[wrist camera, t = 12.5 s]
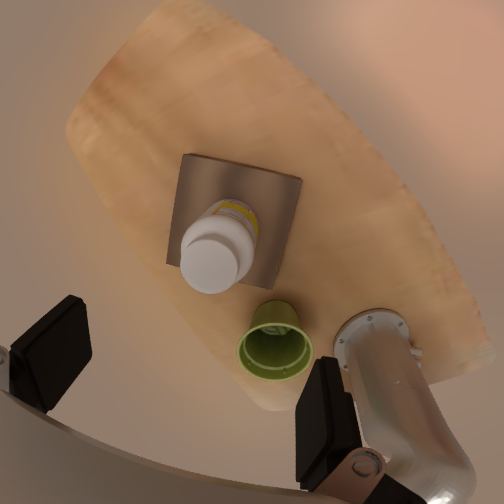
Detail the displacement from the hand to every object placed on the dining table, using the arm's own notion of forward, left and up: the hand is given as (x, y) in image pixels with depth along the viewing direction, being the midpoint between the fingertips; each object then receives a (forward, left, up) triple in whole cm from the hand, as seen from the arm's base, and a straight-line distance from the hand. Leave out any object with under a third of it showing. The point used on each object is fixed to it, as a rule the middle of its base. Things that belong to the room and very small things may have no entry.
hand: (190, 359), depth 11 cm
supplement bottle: (+2, +2, -26) cm, 26 cm away
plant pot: (-7, +15, -29) cm, 34 cm away
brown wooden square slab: (+2, +2, -29) cm, 29 cm away
